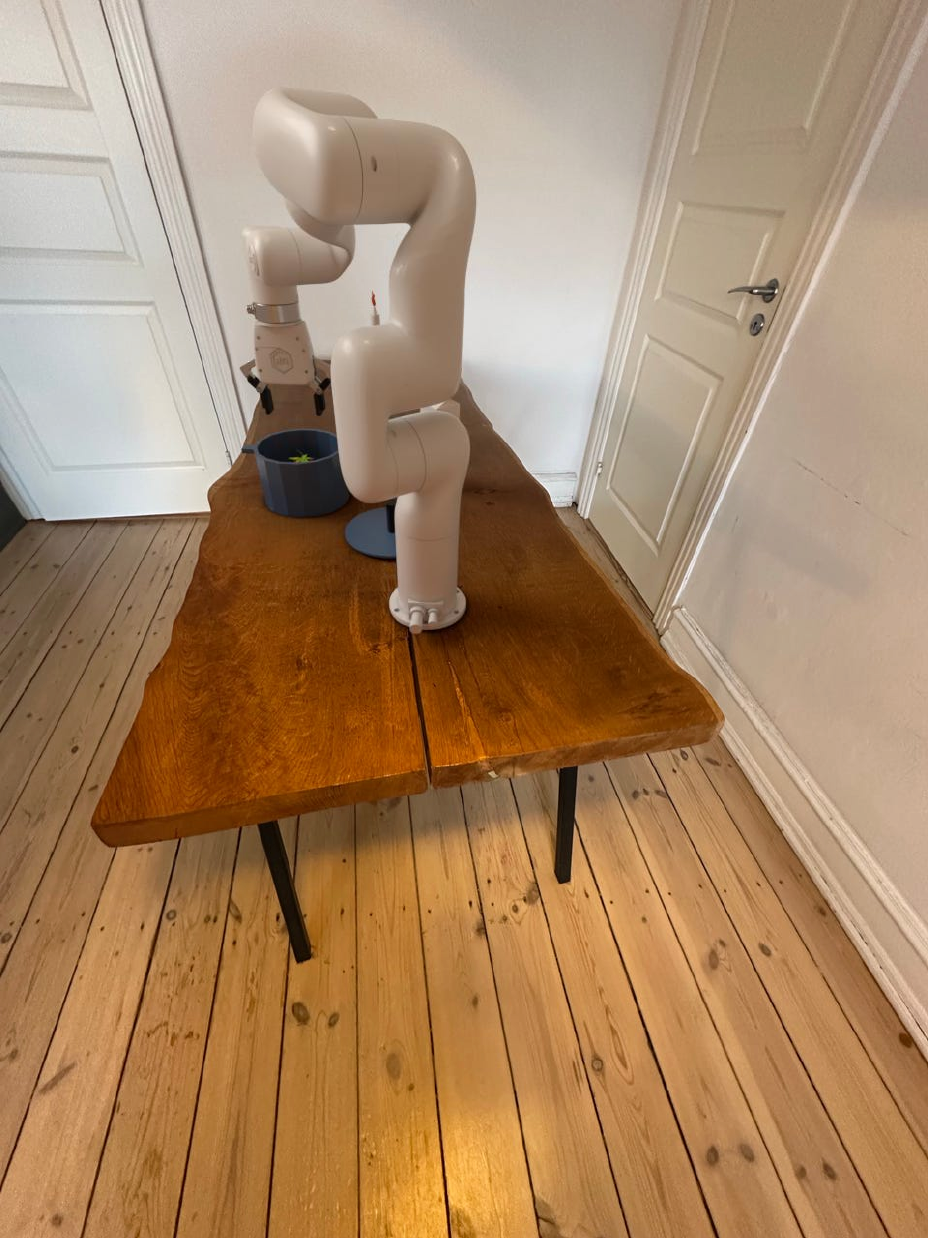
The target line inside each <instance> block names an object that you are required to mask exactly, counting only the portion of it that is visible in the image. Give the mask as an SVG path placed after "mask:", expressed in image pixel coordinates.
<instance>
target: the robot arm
mask: <svg viewBox="0 0 928 1238" xmlns="http://www.w3.org/2000/svg"><path fill="white" fill-rule="evenodd" d="M252 143H253V149H254V153H255V157H256V160H257V163H258V166H259V168H260V170H261V172H262V174H263V176H264V177H265V179H266V180H267V182H268V183H269V184H270V186H272V187H273V189H275V190H276V191H277V193H279V194H280V195H282V196H283V200H284V205H285V207H286V210H287V212H288V214H289V216H290V217H291V219H292V220H293V221H294V223H295V224H296V225H297V226H298V227H280V226H277V225H250V226H246V227H244V228H243V229H242V230H241V235H240V236H241V237H240V238H241V243H242V248H243V254H244V260H245V264H246V271H247V275H248V280H249V286H250V291H251V296H252V303H251V304H247V305H246V312H247V314H248V315H253V316H254V317H255V318H254V319H255V321H254V322H252V345H253V353H254V357H253V358H250V359H249V360H248V361H246V362H244V363H242V364H241V365H240V366H239V370H240V372H241V373H242V375H243V376H244V378H246V381H247V383H249V385H251V386H252V387H253V388H254V389H255V390H256V392H257V393H258V394H259V397H260V403H261V407H262V410H263V409H264V411H265V415H267V416H270V415H271V414H272V413H273V412H274V411H275V406H274V401H273V396H272V391H271V389H270V387H269V385H272V386H273V385H274V386H309V387H310V388H311V389H312V390H313V391H314V394H313V402H314V408H315V415H316V416H317V417H321V416H322V415H323V413H324V411H326V399H325V392H324V391H326V389H327V388H328V387H329V386H331V393H332V394H331V395H332V403H333V413H334V422H335V432H336V435H337V442H338V451H339V459H340V465H341V470H342V474H343V477H344V480H345V483H346V485H347V487H348V489H349V491H350V494H351V495H352V496H353V497H354V498H355V499H356V500H358V501H359V502H362V503H366V504H377V503H381V502H386V501H387V500H389V499H396V498H397V499H396V500H397V502H396V506H395V536H396V556H397V558H396V572H397V573H396V574H397V575H396V576H397V587H396V588H395V589H394V591H393V592H391V595H390V597H389V601H388V605H389V611H390V614H391V615H392V617H393V618H394V619H395V620H396V621H397V622H398V623H400V624H402V625H404V626H406V627H408V630H409V632H410V633H411V634H413V635H419V634H421V632H422V631H432V630H440V629H443V628H447V627H449V626H451V625H453V624H455V623H456V622H458V621H459V620H460V619H461V618H462V617H463V615H464V614H465V611H466V609H467V607H466V605H467V599H466V596H465V594H464V593H463V591H462V590H461V589H460V588H459V587H458V577H459V576H458V575H459V574H458V573H459V572H458V571H459V546H460V541H459V540H460V523H461V505H462V504H461V502H462V495H463V494H462V493H463V488H464V483H465V479H466V476H467V472H468V468H469V463H470V455H471V443H470V438H469V434H468V431H467V429H466V427H465V425H464V424H463V423H462V421H461V419H460V420H459V419H458V418H457V417H455V416H454V415H452V414H450V413H447V412H444V411H425V412H420V411H419V412H415V413H410V414H407V415H402V416H396V417H394V418H391V419H390V417H391V416H393V415H397V414H401V413H405V412H412V411H415V410H420V408H425V407H429V406H433V405H436V404H440V403H442V402H445V401H447V400H449V399H452V398H453V397H454V396H455V395H456V394H457V392H458V391H459V387H460V384H461V377H462V369H463V368H462V367H463V349H464V348H463V346H464V327H465V326H464V324H465V319H464V318H465V297H466V296H465V291H466V289H465V288H466V275H467V268H468V263H469V256H470V250H471V245H472V240H473V235H474V231H475V224H476V216H477V186H476V179H475V174H474V170H473V166H472V164H471V159H470V158H469V156H468V153H467V151H466V150H465V147H463V145H462V143H461V142H460V141H459V140H458V139H457V137H455V136H454V135H453V134H452V133H450V132H448V131H447V130H445V129H443V128H440V127H439V126H435V125H433V124H428V123H425V122H417V121H412V120H403V119H402V120H401V119H391V118H378V116H377V115H376V113H375V112H374V111H373V109H372V108H371V107H370V106H368V104H367V103H365V102H364V101H362V100H361V99H359V98H357V97H354V96H352V95H349V94H347V93H341V92H333V91H323V90H314V89H304V88H294V87H284V86H283V87H282V86H278V87H273V88H271V89H269V90H267V91H265V93H264V94H263V95H262V96H261V97H260V98H259V101H258V103H257V104H256V107H255V110H254V115H253V120H252ZM389 224H391V225H392V224H393V225H394V224H407V225H409V229H408V230H407V231H406V234H405V235H404V236H403V238H402V240H401V242H400V243H399V246H398V248H397V250H396V253H395V255H394V257H393V260H392V262H391V265H390V269H389V273H388V297H389V298H388V299H389V311H388V312H389V313H388V318H387V321H386V322H385V323H383V324H380V325H375V326H371V325H369V326H362V327H356V328H353V329H350V330H348V331H346V332H344V334H342V335H341V336H340V337H339V338H338V339H337V341H336V343H335V344H334V347H333V350H332V354H331V358H330V363H327V362H326V361H323V360H322V359H320V358H318V357H316V354H315V351H314V346H313V342H312V339H311V334H310V331H309V329H308V325H307V322H306V320H303V319H302V313H301V305H300V298H299V293H298V286H305V285H306V286H308V285H323V284H329V283H333V282H335V281H337V280H338V279H339V278H341V277H342V276H343V274H344V273H345V272H346V271H347V270H348V268H349V267H350V265H351V264H352V262H353V260H354V257H355V252H356V242H357V241H356V229H355V226H360V225H361V226H365V225H389ZM254 368H255V369H256V374H257V376H256V375H255V374H254V373H253V371H252V369H254ZM318 370H321V371H322V372H324V373H325V376H324V379H323V380H322V381H321V380H320V378H318V377H317V376H318Z"/></svg>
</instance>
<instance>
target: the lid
mask: <svg viewBox="0 0 928 1238" xmlns="http://www.w3.org/2000/svg"><path fill="white" fill-rule="evenodd" d="M396 502H397V499H396V498H393V499H389V500H386V501H385V506H384V507H377V508H373V509H369V510H366V511H364V512H361V513H359V514H358V515H356V516H354V517H353V518H352V519H350V521H348V523H347V524H346V526H345V531H344V536H345V540H346V543H348V545H349V546H350V547H351V548H353V549H354V550H355V551H357V552H359V553H361V554H363V555H367V556H370V557H373V558H380V559H397V556H396V536H395V506H396Z"/></svg>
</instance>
